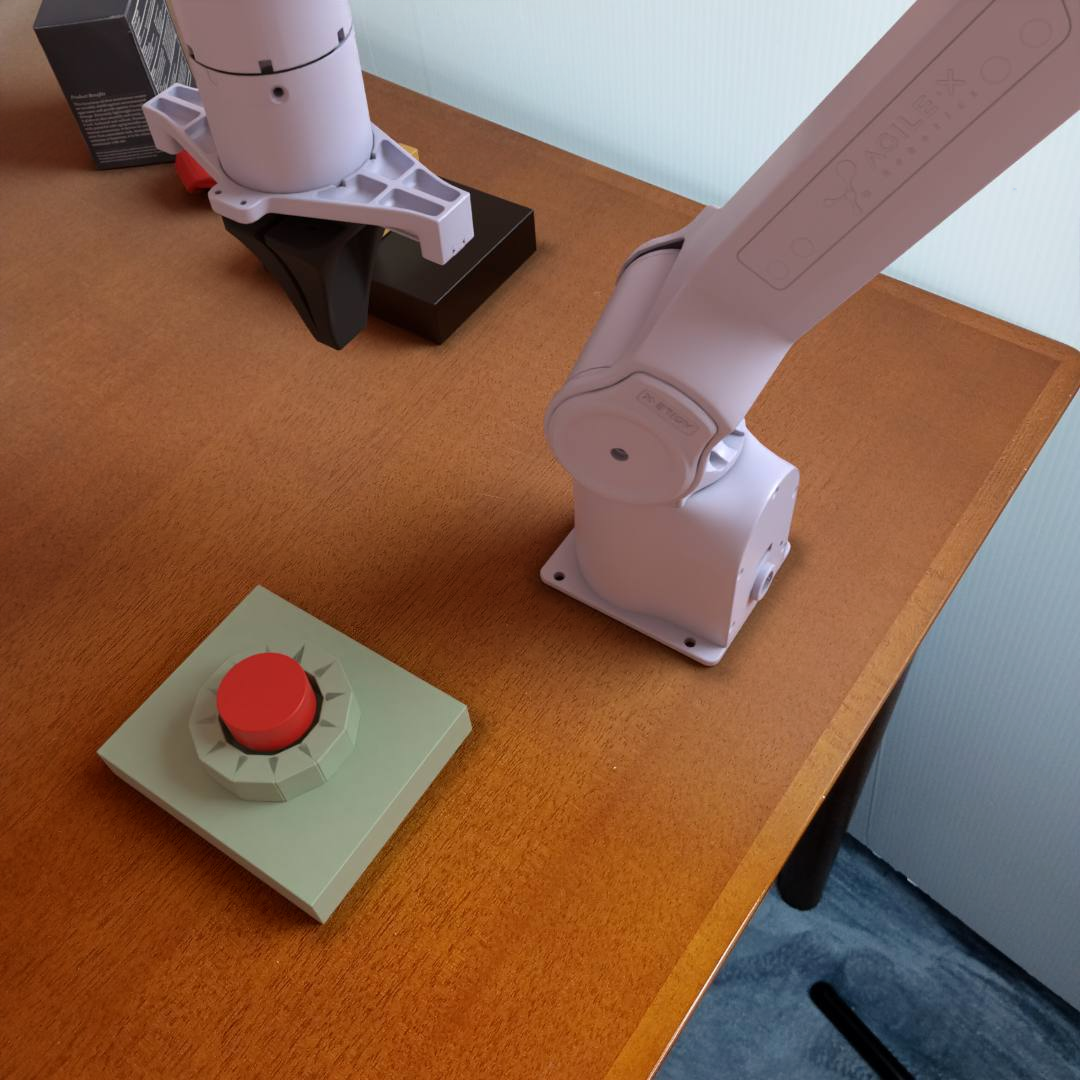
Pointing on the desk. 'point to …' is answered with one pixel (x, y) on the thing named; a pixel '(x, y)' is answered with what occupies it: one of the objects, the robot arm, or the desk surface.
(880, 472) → the desk surface
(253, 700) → the alarm button
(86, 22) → the small box
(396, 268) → the plate
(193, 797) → the alarm block
